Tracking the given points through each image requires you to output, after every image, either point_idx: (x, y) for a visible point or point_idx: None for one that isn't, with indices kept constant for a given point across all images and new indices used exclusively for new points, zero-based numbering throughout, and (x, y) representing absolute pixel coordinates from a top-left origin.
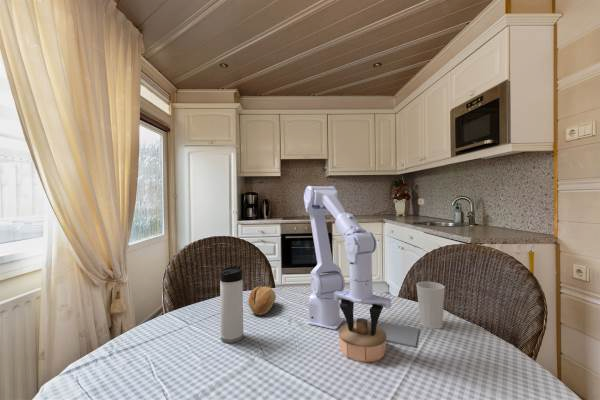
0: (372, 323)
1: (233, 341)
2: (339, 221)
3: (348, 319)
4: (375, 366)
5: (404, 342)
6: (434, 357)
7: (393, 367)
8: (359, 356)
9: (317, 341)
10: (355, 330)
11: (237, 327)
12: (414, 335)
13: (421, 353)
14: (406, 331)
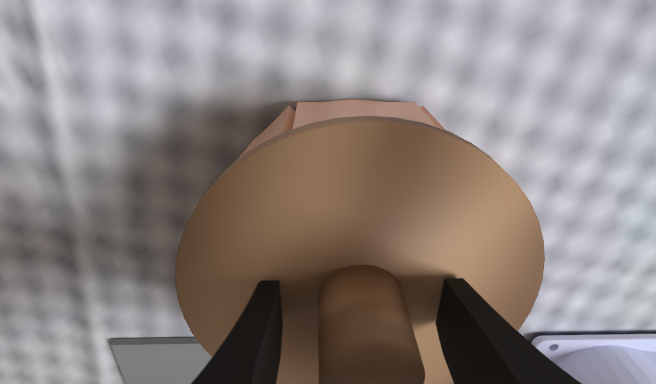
0: (242, 356)
1: None
2: None
3: (506, 347)
4: (228, 91)
5: (167, 353)
6: (4, 300)
7: (133, 129)
8: (334, 107)
9: (632, 197)
10: (413, 300)
11: None
12: None
13: (69, 308)
14: None
